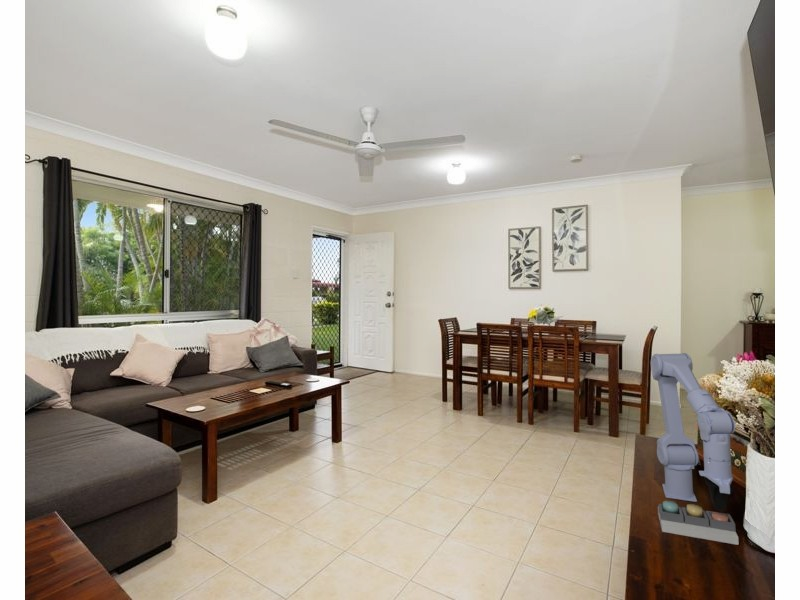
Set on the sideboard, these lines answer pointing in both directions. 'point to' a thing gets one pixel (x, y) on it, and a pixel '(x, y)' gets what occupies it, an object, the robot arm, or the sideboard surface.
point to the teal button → (670, 507)
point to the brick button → (719, 516)
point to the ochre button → (694, 510)
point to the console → (698, 525)
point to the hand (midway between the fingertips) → (719, 508)
